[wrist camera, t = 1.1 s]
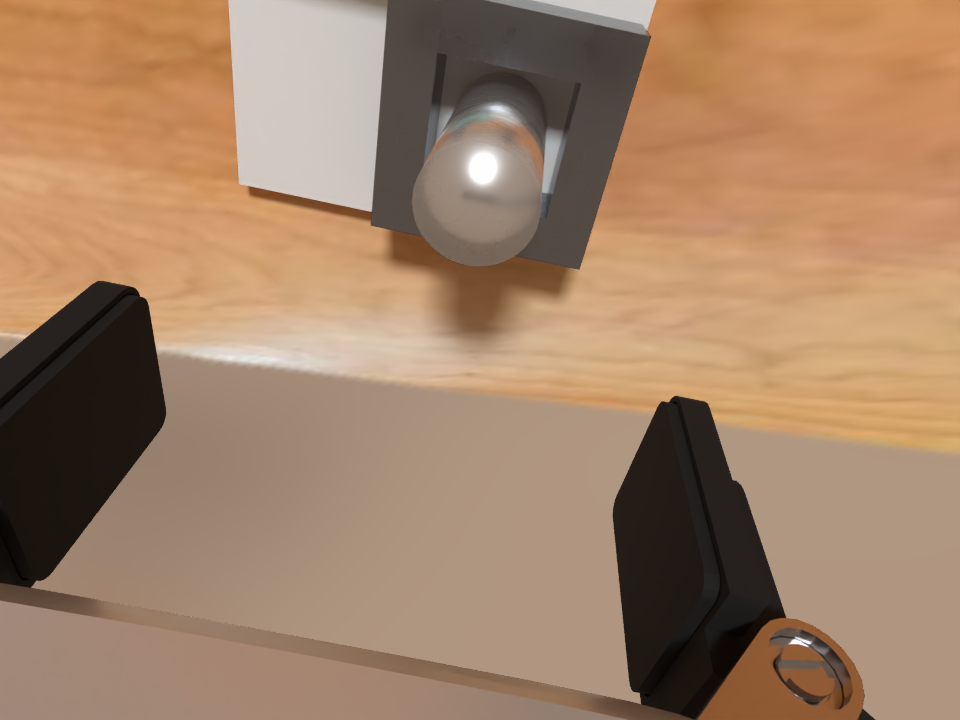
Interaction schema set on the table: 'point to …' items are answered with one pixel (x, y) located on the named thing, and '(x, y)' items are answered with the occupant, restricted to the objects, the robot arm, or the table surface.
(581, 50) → the holder block
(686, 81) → the table surface
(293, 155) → the docking plate
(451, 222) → the silver metal cylinder
